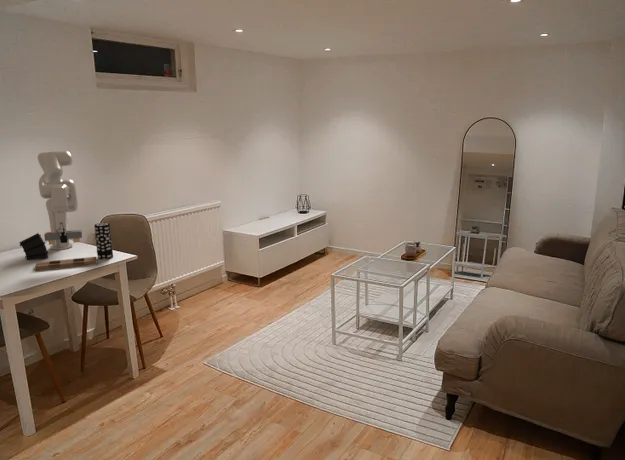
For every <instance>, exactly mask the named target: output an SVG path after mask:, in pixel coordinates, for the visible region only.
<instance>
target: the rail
mask: <svg viewBox="0 0 625 460" xmlns="http://www.w3.org/2000/svg"><path fill="white" fill-rule="evenodd" d="M97 264H98V257H97V256H90V257H89V256H88V257H87V256H86V257H79V258H68V259H58V260H57V259H56V260H48V261H39V262H38V261H37V262H36V264H35V265H34V268H35V272H39V271H47V270H57V269H68V268H76V267H87V266H96V265H97Z"/></svg>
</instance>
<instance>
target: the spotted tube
mask: <svg viewBox="0 0 625 460" xmlns="http://www.w3.org/2000/svg"><path fill="white" fill-rule="evenodd" d="M111 232H112V231H111V224H110V222H99V223H95V224H94V235H95V243H96V244H95V245H96V254H97V260H102V261H103V260H109V259H110V260H111V259H112V258H113V257H114V253H113V251H114V250H113V243H112V233H111Z"/></svg>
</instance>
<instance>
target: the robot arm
mask: <svg viewBox="0 0 625 460" xmlns="http://www.w3.org/2000/svg"><path fill="white" fill-rule="evenodd" d="M37 160H38V165H39V166H40V169H42V171H43V174H42V175H41V176H40V177H39V180H38V191H39V194H40V195H39V196H40V197H41V198H42V199H47V200H46V201H45V207H46V210H47V211H46V212H47V215H48V219H49V220H48V221H49V227H50V228H49V229H50V232H60V240H55V241H56V244H53V245H50V246H49V249H51V250H54V251H57V250H58V251H59V250H60V251H61V250H67V249H70V248H72V247H73V243H70V239H67V235H66V231H69V226H68V217H67V213H73V212H76V211H78V209H79V205H78V197H77V196H78V195H77V188H76V183H75V182H74V180H72V179H62V176H63V173H64V170H63V167H69V166H72V164H73V157H72V154H71V153H70V152H69V151H68V150H67V151H66V150H63V151H62V150H61V151H60V150H59V151H58V150H56V151H54V150H53V151H47V152H39V154H38V155H37ZM63 231H64V232H63Z"/></svg>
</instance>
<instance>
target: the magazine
mask: <svg viewBox="0 0 625 460" xmlns="http://www.w3.org/2000/svg"><path fill="white" fill-rule="evenodd" d="M41 236H42V234H40V233H39V232H37V233H35V234H34V235H31V236H29V237H28V238H25V239H23V240H21V241H20V242H19V246H20V247H21V248H22V249H23V253H25V257H24V258H25V259H26V261H30V260H31V261H32V260H35V261H36V260H47V259H48V258H49V256H48V255H49V251H48V250H47V249H48V248H47V246H46V241H44V240H43V238H42V237H41Z"/></svg>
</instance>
